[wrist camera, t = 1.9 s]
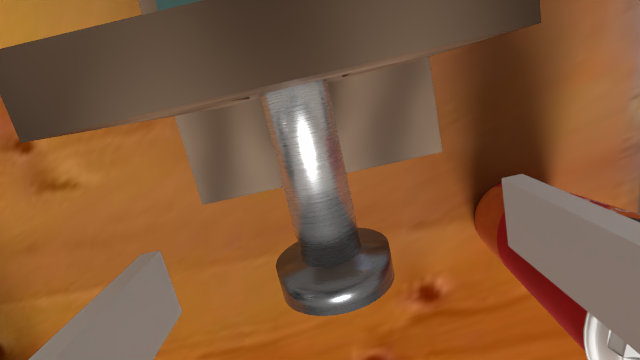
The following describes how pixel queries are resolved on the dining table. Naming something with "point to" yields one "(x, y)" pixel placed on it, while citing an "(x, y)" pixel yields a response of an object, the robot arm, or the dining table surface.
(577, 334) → the coffee cup
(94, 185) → the dining table surface
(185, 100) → the block
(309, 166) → the shaft
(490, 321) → the dining table surface
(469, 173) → the dining table surface
